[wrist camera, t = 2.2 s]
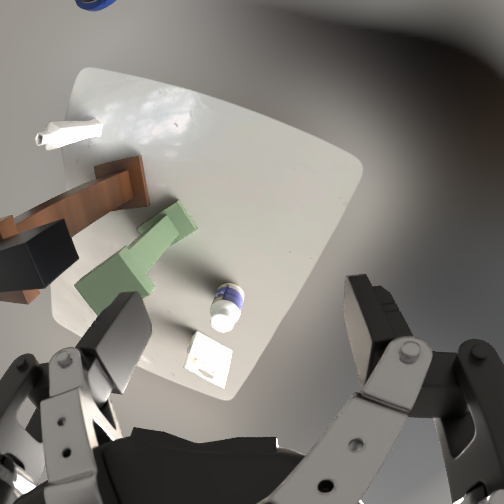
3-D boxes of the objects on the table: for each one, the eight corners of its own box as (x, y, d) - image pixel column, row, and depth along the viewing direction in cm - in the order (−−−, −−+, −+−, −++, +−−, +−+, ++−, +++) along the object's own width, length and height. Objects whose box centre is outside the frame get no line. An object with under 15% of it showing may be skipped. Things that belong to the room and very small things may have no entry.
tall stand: (146, 154, 46) (-4, 217, 17) (155, 204, 50) (30, 309, 21) (92, 166, 47) (-48, 231, 19) (102, 211, 51) (-21, 301, 22)
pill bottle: (224, 277, 54) (214, 305, 46) (249, 290, 55) (242, 319, 47) (212, 297, 57) (201, 326, 49) (236, 309, 57) (228, 339, 49)
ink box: (227, 356, 63) (218, 395, 53) (192, 335, 62) (176, 373, 51) (234, 349, 62) (225, 389, 52) (197, 328, 61) (183, 367, 50)
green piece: (178, 199, 49) (118, 252, 30) (197, 228, 51) (149, 295, 32) (138, 226, 52) (73, 285, 33) (156, 252, 54) (101, 320, 35)
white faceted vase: (81, 134, 45) (26, 147, 31) (90, 114, 43) (34, 120, 30) (97, 145, 46) (43, 160, 32) (107, 124, 44) (52, 133, 30)
